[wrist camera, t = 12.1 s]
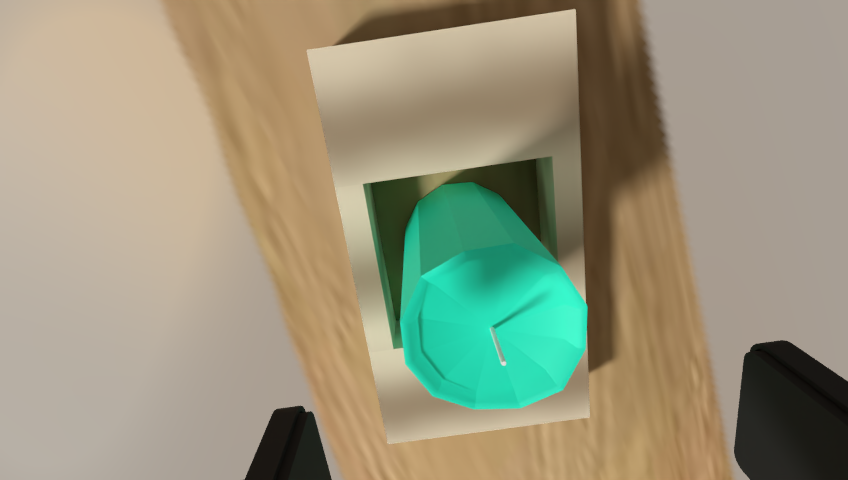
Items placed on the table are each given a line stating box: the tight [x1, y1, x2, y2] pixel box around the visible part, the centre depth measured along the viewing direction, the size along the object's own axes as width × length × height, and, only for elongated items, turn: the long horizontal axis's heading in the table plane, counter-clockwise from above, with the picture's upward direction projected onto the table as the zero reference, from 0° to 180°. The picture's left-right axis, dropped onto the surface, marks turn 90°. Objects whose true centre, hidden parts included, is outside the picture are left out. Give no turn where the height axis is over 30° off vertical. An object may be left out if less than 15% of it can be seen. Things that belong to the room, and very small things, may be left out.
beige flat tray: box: [307, 9, 590, 444], centre depth 23 cm, size 20×11×3 cm, turn 8°
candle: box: [400, 182, 588, 409], centre depth 18 cm, size 6×6×12 cm
